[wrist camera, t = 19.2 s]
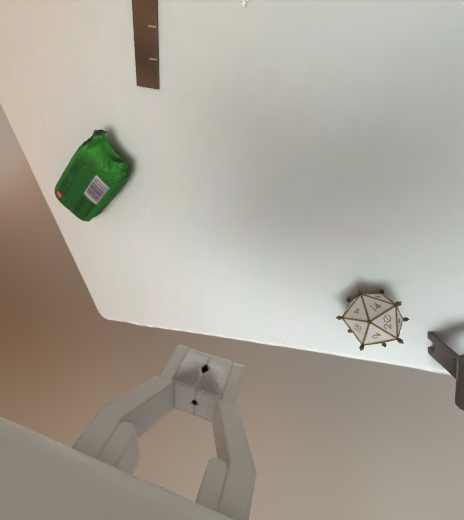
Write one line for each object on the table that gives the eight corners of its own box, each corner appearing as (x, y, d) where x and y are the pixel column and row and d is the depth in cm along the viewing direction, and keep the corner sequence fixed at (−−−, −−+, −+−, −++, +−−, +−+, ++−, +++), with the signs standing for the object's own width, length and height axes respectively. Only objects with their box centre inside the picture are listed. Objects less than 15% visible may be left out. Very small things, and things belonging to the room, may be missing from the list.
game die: (355, 280, 43) (344, 278, 35) (415, 297, 39) (420, 301, 30) (338, 330, 44) (324, 341, 36) (396, 353, 39) (395, 372, 31)
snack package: (146, 165, 39) (125, 172, 35) (98, 220, 47) (76, 232, 43) (111, 124, 38) (85, 127, 33) (68, 189, 46) (41, 197, 41)
